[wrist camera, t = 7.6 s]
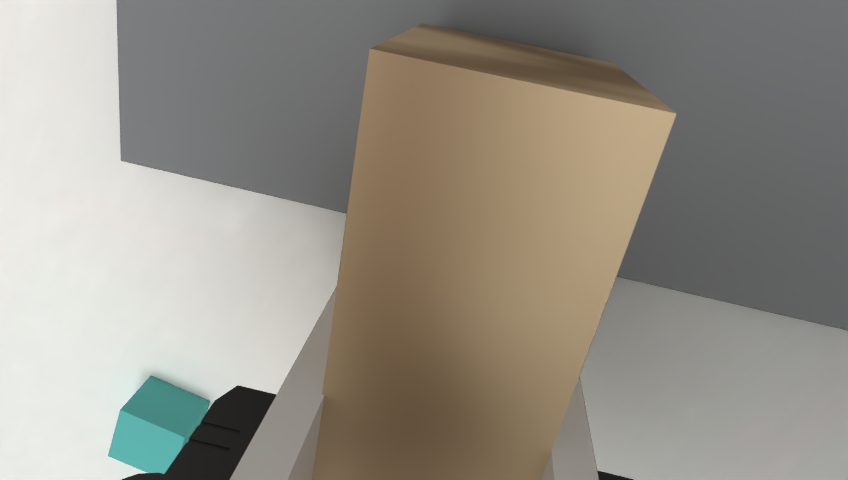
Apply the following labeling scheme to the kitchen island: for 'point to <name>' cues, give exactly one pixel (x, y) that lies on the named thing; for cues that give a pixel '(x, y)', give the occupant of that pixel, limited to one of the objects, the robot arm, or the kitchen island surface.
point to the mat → (555, 30)
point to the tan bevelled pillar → (477, 252)
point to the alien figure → (156, 425)
